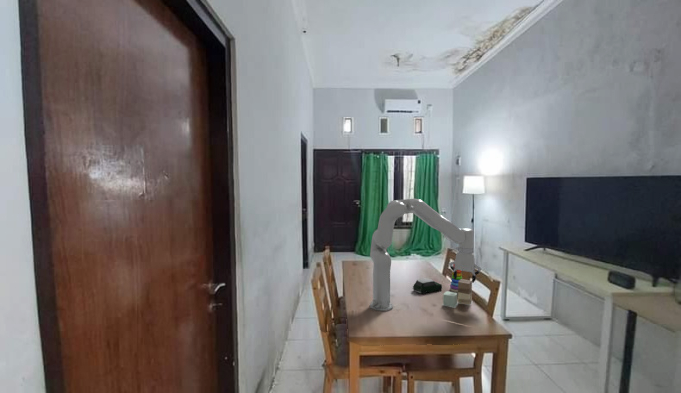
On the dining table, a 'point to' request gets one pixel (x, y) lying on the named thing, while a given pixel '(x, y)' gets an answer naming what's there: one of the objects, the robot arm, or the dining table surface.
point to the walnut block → (465, 286)
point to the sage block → (450, 299)
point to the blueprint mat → (457, 304)
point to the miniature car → (426, 286)
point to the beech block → (464, 298)
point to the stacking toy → (455, 281)
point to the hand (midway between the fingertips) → (464, 280)
